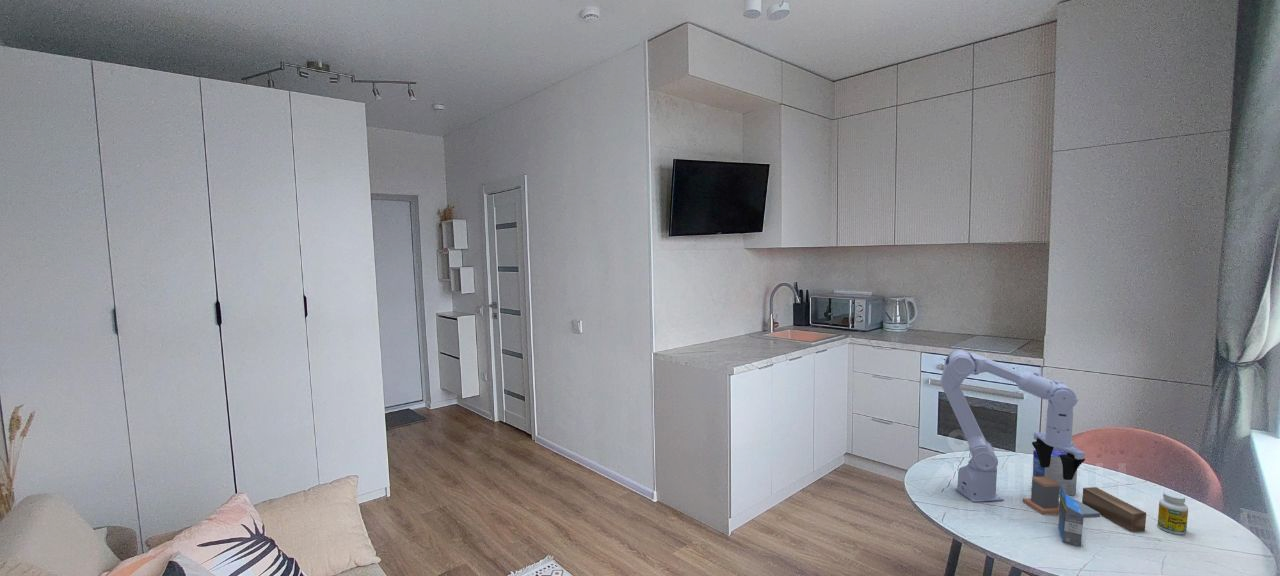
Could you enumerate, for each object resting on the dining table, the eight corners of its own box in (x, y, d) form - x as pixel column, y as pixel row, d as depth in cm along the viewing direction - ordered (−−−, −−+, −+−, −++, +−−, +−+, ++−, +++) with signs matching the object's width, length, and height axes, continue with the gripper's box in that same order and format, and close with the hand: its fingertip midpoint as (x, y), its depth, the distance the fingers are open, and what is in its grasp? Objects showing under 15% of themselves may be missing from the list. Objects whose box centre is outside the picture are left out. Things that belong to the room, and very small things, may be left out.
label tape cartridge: (1082, 547, 130) (1085, 500, 128) (1062, 542, 132) (1065, 496, 131) (1075, 529, 137) (1078, 485, 136) (1057, 525, 139) (1059, 482, 138)
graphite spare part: (1043, 508, 146) (1045, 484, 145) (1030, 500, 150) (1032, 476, 150) (1058, 507, 146) (1059, 483, 146) (1045, 499, 151) (1046, 476, 150)
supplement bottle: (1177, 525, 138) (1180, 491, 137) (1191, 536, 133) (1195, 501, 132) (1152, 522, 140) (1155, 488, 139) (1165, 533, 135) (1168, 498, 134)
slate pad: (1076, 517, 143) (1076, 514, 143) (1054, 504, 150) (1054, 501, 150) (1099, 516, 143) (1100, 513, 143) (1077, 503, 150) (1077, 500, 150)
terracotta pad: (1042, 514, 145) (1042, 511, 145) (1022, 501, 152) (1022, 498, 152) (1066, 513, 145) (1066, 509, 145) (1045, 500, 152) (1045, 497, 152)
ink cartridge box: (1062, 486, 160) (1065, 441, 159) (1077, 495, 155) (1080, 449, 153) (1030, 487, 160) (1032, 441, 159) (1043, 495, 155) (1046, 449, 153)
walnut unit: (1130, 531, 136) (1132, 513, 135) (1081, 504, 150) (1083, 487, 149) (1146, 530, 136) (1147, 512, 136) (1096, 503, 150) (1097, 487, 150)
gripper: (1096, 436, 139) (1093, 484, 140) (1050, 417, 153) (1047, 461, 155) (1071, 437, 138) (1068, 485, 140) (1027, 418, 153) (1025, 462, 154)
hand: (1056, 473), depth 147 cm, fingers open, 7 cm apart
